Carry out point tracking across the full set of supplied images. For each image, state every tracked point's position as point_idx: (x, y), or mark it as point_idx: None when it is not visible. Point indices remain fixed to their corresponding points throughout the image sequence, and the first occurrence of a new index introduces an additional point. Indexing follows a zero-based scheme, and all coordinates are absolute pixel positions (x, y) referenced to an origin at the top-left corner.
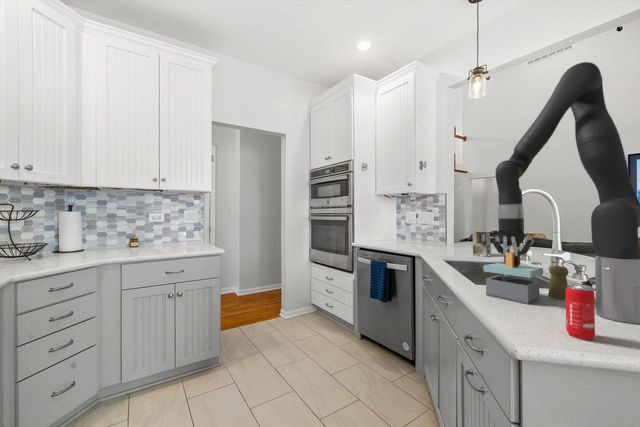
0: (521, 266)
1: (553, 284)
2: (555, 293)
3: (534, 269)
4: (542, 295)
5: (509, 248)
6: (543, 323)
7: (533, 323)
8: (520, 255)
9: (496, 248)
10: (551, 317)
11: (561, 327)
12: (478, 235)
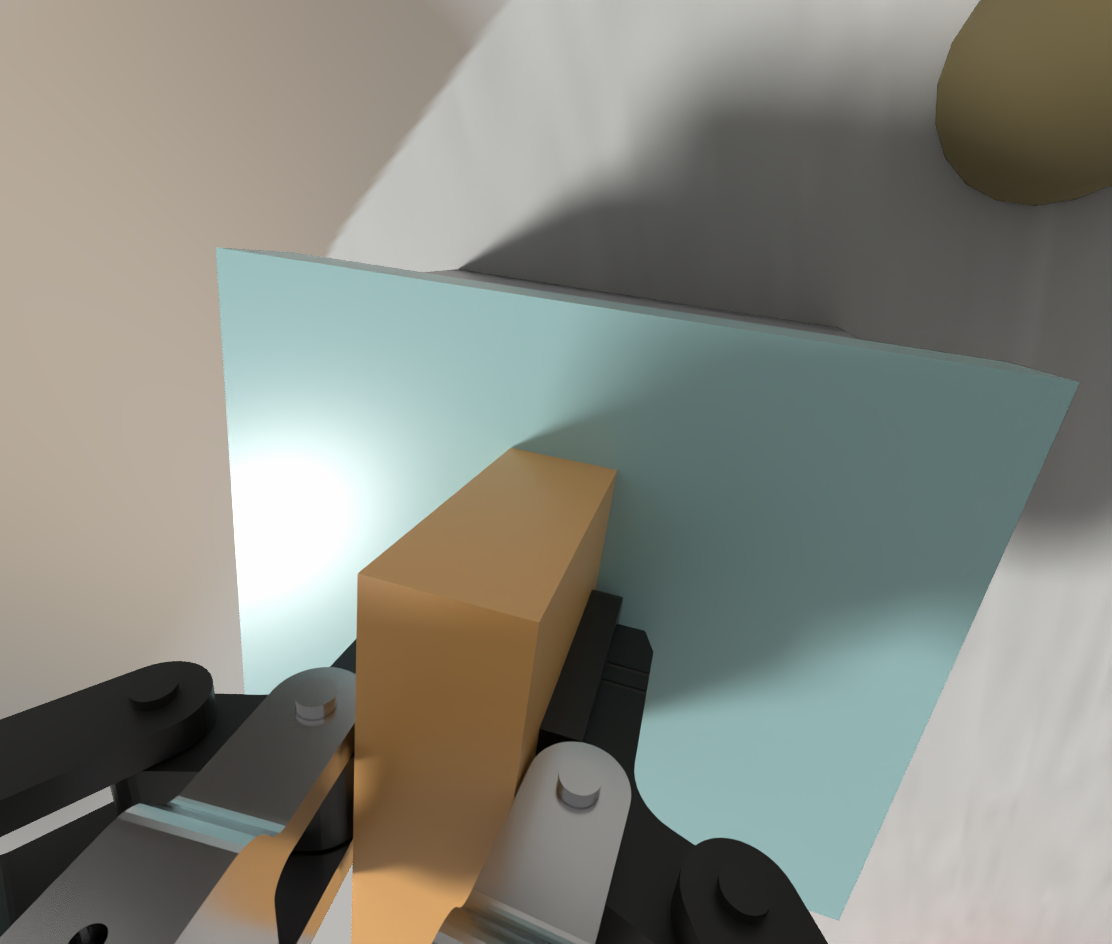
0: (652, 449)
1: (1100, 138)
2: (1049, 189)
3: (894, 722)
4: (873, 134)
5: (278, 878)
6: (865, 902)
7: (814, 918)
8: (640, 810)
9: (50, 869)
10: (917, 795)
11: (959, 924)
12: None
